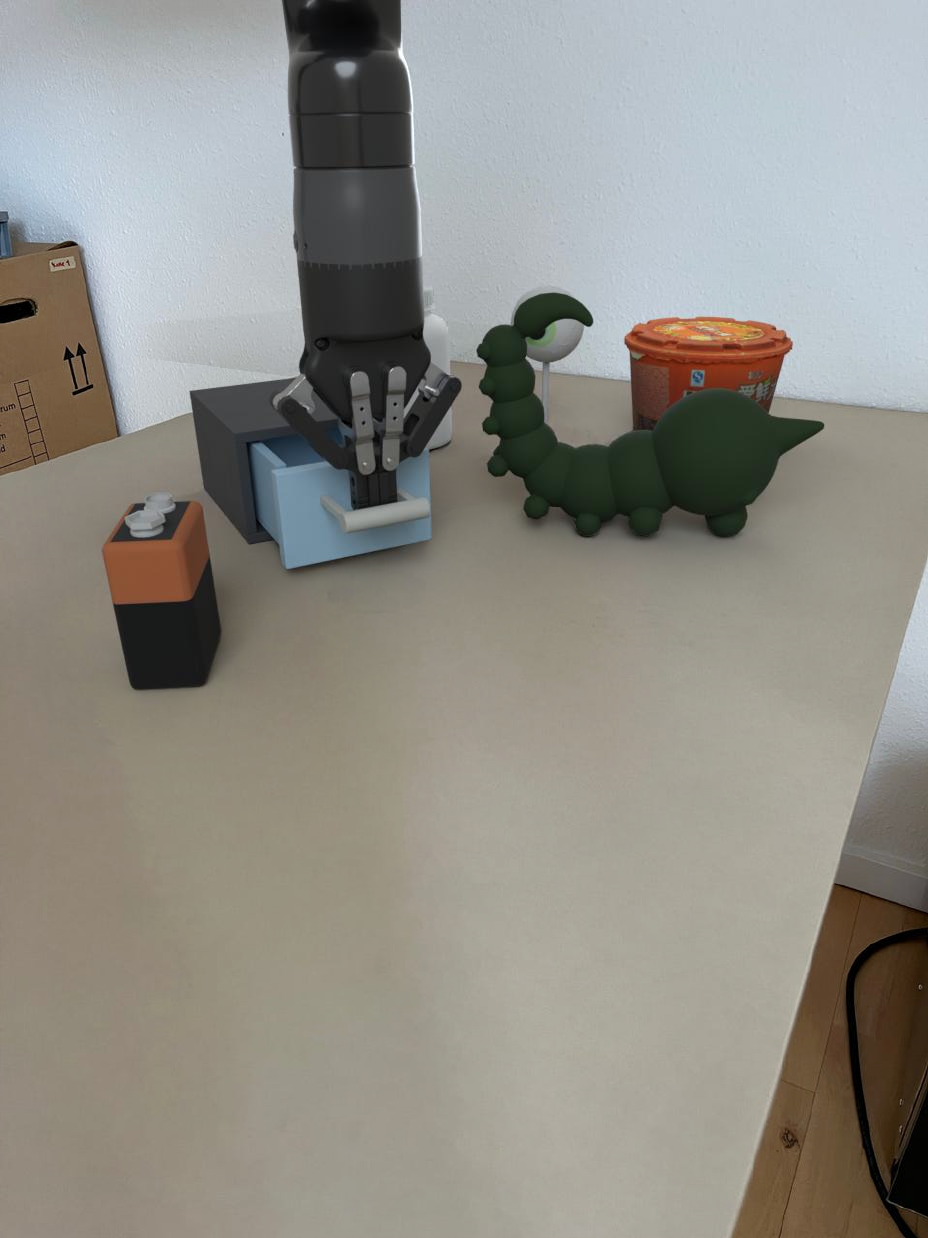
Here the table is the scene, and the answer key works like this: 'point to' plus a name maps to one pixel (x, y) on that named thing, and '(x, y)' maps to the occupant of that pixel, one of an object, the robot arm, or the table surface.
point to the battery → (163, 593)
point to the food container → (701, 362)
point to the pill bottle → (435, 362)
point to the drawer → (331, 503)
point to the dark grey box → (241, 443)
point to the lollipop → (551, 340)
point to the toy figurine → (629, 443)
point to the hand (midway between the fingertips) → (375, 520)
